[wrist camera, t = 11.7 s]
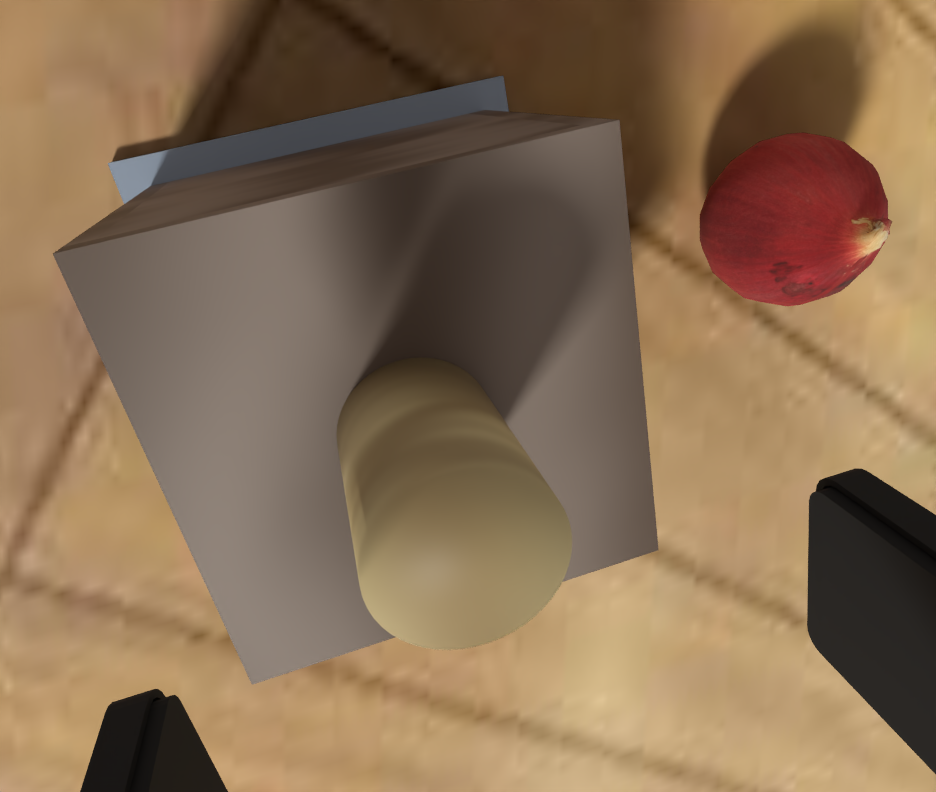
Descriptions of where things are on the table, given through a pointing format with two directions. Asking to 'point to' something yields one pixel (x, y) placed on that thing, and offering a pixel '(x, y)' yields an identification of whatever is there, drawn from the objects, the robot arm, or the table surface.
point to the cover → (385, 378)
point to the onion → (794, 219)
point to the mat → (305, 135)
